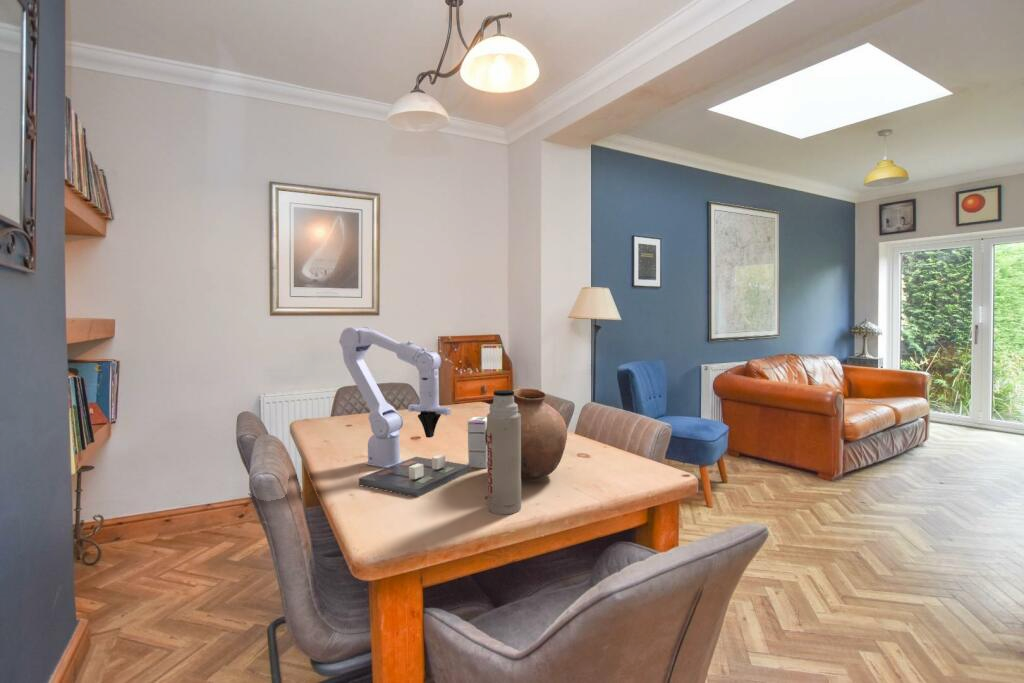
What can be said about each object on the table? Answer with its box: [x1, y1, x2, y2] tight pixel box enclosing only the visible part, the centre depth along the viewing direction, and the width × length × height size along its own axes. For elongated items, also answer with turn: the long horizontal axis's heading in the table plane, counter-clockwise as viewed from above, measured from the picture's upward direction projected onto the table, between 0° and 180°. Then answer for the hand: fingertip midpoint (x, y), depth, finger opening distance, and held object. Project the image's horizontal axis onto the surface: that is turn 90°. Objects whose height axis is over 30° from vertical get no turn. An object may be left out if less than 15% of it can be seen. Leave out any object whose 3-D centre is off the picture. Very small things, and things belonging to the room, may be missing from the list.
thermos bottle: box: [486, 389, 522, 515], centre depth 120 cm, size 8×8×28 cm
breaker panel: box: [358, 456, 471, 498], centre depth 144 cm, size 20×24×2 cm
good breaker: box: [431, 454, 446, 469], centre depth 146 cm, size 2×4×3 cm, turn 151°
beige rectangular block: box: [409, 463, 424, 479], centre depth 137 cm, size 2×4×3 cm, turn 151°
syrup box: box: [467, 416, 487, 469], centre depth 156 cm, size 6×6×14 cm
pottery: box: [485, 387, 568, 481], centre depth 143 cm, size 23×23×25 cm
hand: (429, 436), depth 153 cm, fingers closed
